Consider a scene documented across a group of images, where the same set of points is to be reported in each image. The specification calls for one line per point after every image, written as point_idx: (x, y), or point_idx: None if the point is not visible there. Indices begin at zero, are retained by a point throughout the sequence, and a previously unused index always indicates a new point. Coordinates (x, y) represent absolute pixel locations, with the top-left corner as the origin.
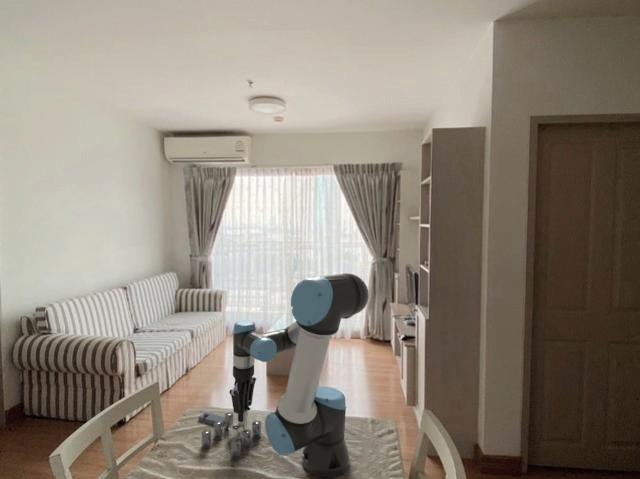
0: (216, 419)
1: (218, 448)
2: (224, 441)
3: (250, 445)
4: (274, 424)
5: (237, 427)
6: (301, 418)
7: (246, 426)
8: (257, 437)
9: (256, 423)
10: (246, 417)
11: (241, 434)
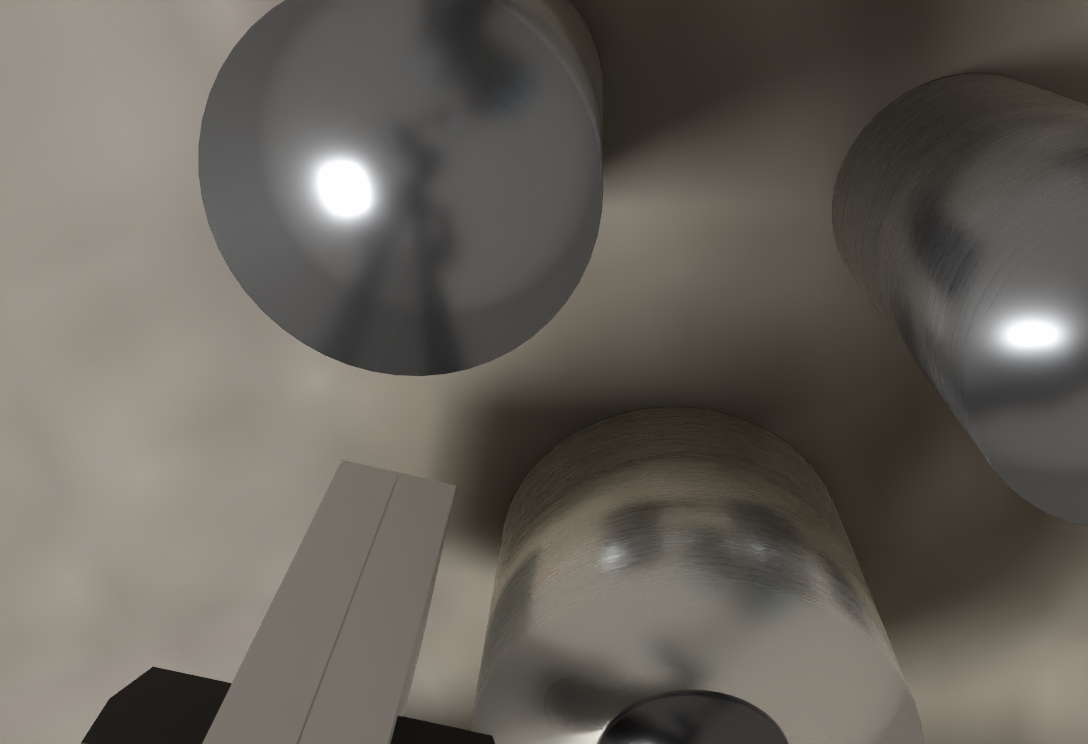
0: None
1: (1065, 739)
2: None
3: (1015, 81)
4: None
5: (698, 729)
6: None
7: (348, 496)
8: (579, 18)
9: (438, 186)
10: (268, 705)
11: (743, 494)
